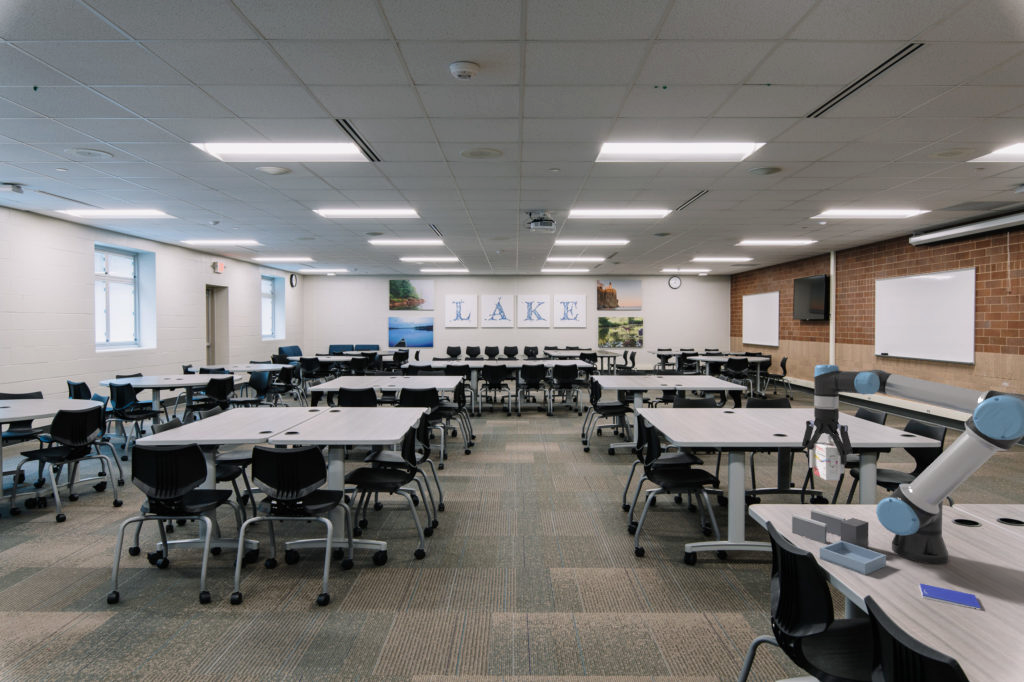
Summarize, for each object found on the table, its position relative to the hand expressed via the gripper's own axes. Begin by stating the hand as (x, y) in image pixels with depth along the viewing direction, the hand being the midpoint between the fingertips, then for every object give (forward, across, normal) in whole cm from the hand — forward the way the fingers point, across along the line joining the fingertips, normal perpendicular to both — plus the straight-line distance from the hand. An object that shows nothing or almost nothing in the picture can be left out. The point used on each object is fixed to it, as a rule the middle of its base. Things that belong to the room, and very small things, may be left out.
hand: (826, 470), depth 189 cm
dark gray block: (+25, -8, -2) cm, 27 cm away
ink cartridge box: (+3, 0, 0) cm, 3 cm away
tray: (+25, -15, +11) cm, 31 cm away
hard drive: (+27, -41, +10) cm, 50 cm away
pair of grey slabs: (+25, +5, -3) cm, 26 cm away
